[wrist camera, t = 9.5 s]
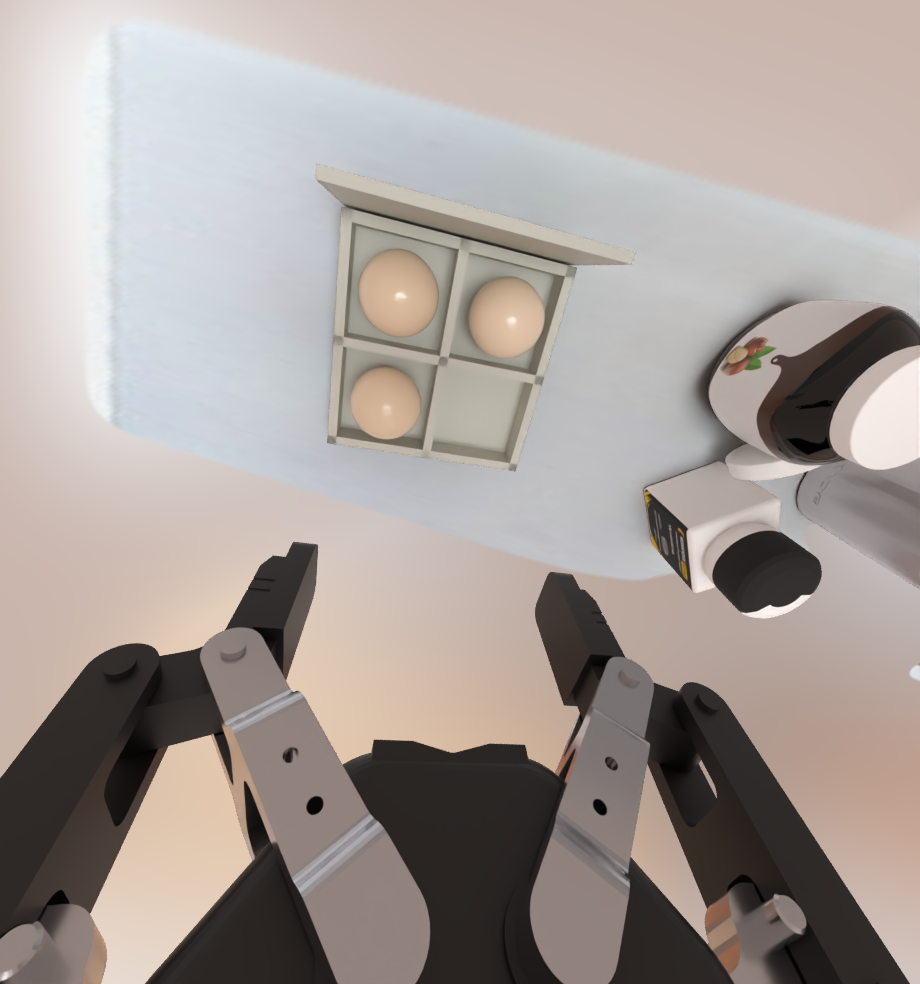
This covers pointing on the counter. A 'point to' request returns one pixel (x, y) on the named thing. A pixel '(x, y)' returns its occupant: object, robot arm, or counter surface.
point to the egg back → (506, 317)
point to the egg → (385, 403)
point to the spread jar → (821, 389)
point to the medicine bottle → (730, 541)
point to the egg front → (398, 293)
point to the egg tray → (448, 318)
